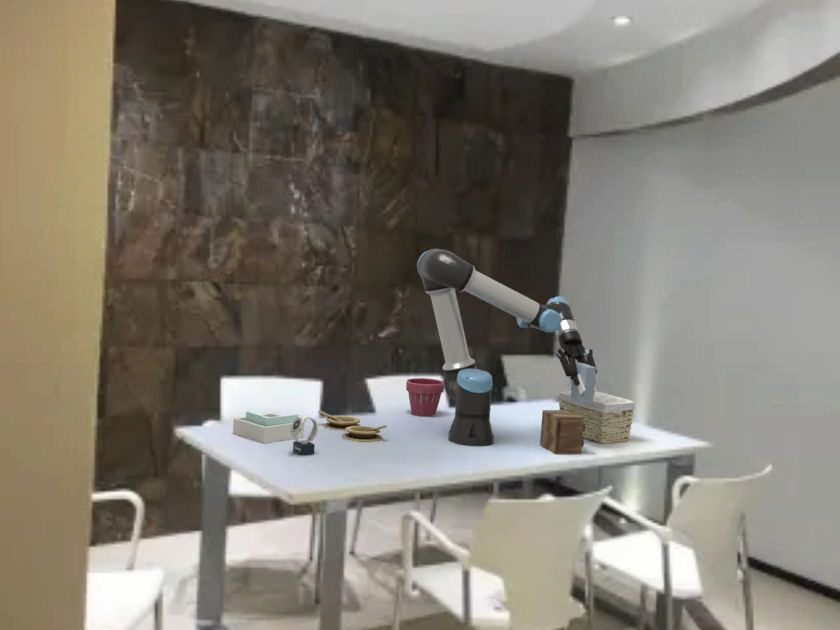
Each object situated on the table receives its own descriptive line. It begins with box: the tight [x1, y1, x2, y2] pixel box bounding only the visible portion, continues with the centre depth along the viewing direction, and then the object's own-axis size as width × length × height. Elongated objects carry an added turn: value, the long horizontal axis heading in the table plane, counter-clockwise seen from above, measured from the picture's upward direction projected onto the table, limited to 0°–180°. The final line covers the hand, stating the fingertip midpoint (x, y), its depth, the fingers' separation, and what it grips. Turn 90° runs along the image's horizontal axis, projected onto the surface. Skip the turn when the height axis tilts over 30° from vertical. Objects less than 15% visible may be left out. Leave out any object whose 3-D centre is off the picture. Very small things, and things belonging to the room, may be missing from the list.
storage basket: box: [557, 390, 636, 444], centre depth 327 cm, size 24×16×15 cm
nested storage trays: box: [232, 412, 305, 444], centre depth 295 cm, size 16×16×5 cm
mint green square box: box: [245, 410, 300, 427], centre depth 295 cm, size 12×12×8 cm
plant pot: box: [405, 377, 445, 417], centre depth 347 cm, size 14×14×13 cm
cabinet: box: [539, 409, 585, 455], centre depth 302 cm, size 12×10×12 cm
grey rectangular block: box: [570, 362, 597, 403], centre depth 307 cm, size 9×4×12 cm, turn 19°
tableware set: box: [318, 410, 388, 443], centre depth 308 cm, size 30×20×6 cm, turn 28°
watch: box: [291, 415, 319, 457], centre depth 275 cm, size 6×8×11 cm
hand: (588, 392), depth 304 cm, fingers closed on grey rectangular block, 3 cm apart
